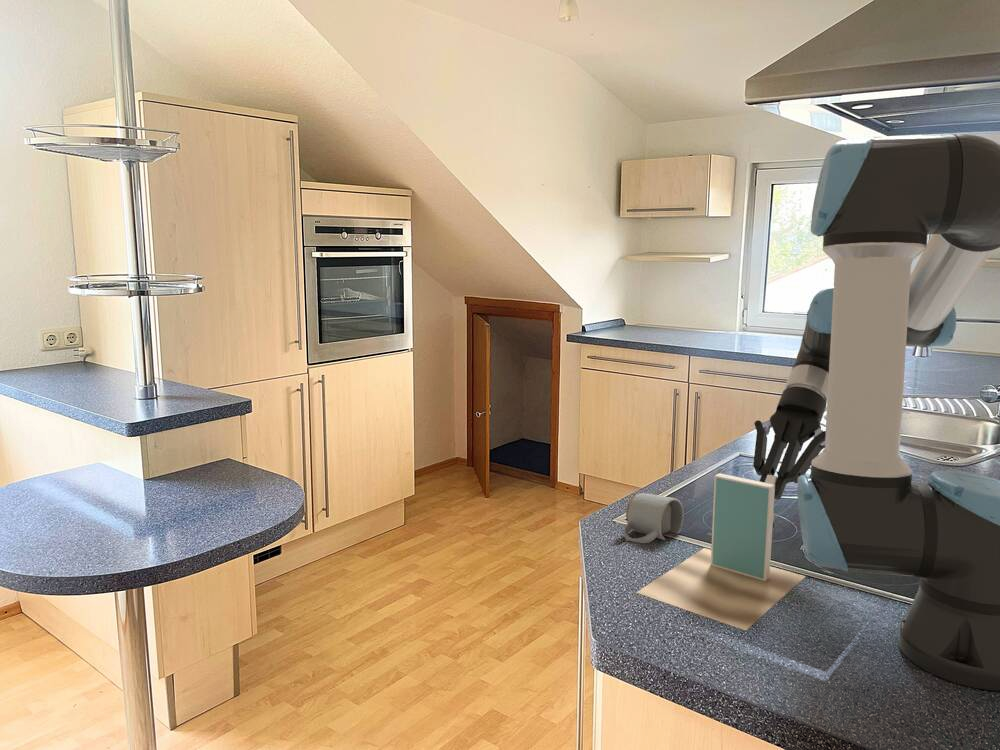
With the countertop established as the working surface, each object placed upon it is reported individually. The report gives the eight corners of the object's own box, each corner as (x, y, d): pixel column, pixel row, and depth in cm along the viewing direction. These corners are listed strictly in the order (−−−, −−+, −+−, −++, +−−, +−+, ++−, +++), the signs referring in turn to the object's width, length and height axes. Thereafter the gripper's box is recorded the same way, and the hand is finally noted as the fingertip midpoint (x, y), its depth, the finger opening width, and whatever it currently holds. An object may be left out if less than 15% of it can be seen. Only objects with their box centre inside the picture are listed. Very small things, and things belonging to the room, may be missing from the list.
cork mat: (704, 552, 129) (704, 547, 129) (805, 581, 118) (805, 576, 118) (635, 597, 113) (636, 592, 112) (745, 635, 101) (745, 630, 101)
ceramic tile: (715, 561, 123) (719, 473, 120) (769, 577, 117) (775, 484, 115) (710, 565, 122) (714, 475, 119) (765, 581, 116) (770, 487, 113)
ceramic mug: (645, 523, 142) (646, 484, 141) (684, 535, 136) (685, 494, 135) (612, 540, 135) (612, 499, 133) (651, 553, 129) (652, 510, 128)
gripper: (847, 414, 131) (806, 533, 122) (773, 404, 140) (729, 514, 131) (839, 389, 126) (796, 511, 117) (763, 380, 135) (717, 493, 126)
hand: (761, 512), depth 124 cm, fingers closed
